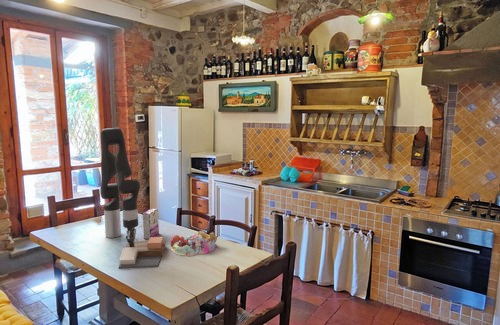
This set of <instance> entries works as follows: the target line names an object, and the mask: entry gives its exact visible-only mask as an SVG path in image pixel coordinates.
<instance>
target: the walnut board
mask: <svg viewBox="0 0 500 325" xmlns="http://www.w3.org/2000/svg"><path fill="white" fill-rule="evenodd" d="M147 243H148V240H139V241H134V247H137V249H138V253H137V257H153V256H161V259H162V258H163V255H164V252H165V250H166V240H165V239H163V243H162V246H161V248H148V249H147ZM126 247H129V243H128V242H127V244H126ZM126 247H125V248H126Z"/></svg>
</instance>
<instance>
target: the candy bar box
mask: <svg viewBox="0 0 500 325" xmlns="http://www.w3.org/2000/svg"><path fill="white" fill-rule="evenodd" d="M158 212H159V210H158V208H150V209H148V210H147V211H145V212H143V213H142V225H143V227H142V228H143V239H144V240H149V238H150V237H157V235H159V234H160V231H159V229H160V227H159V226H160V224H159V213H158Z"/></svg>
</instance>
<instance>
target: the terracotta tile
mask: <svg viewBox="0 0 500 325" xmlns="http://www.w3.org/2000/svg"><path fill="white" fill-rule="evenodd" d="M163 240H164V237H163V236H155V237H150V238H149V239H147V241H148V243H147V249H148V248H161V246H162V243H163Z"/></svg>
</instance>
